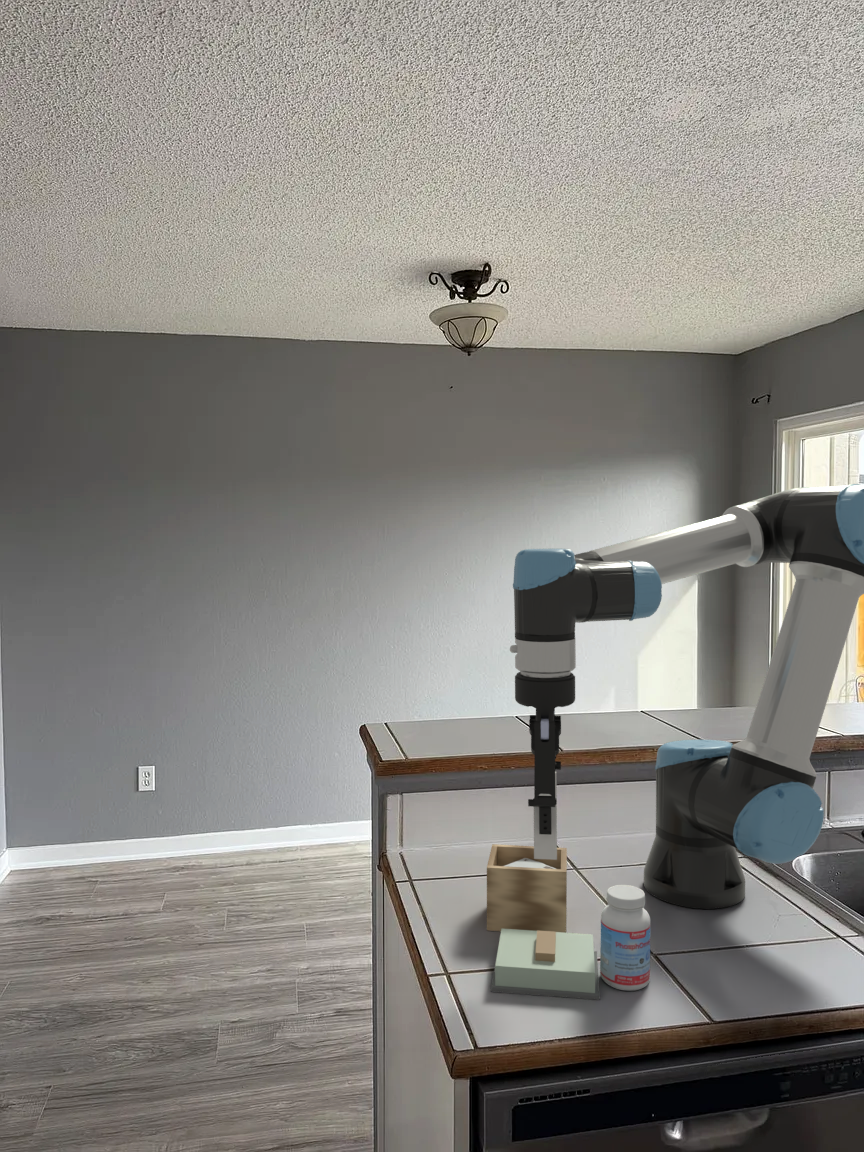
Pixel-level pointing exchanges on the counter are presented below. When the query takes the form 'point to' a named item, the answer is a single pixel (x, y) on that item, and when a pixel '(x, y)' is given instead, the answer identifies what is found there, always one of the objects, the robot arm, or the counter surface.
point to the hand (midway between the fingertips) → (546, 837)
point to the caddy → (526, 891)
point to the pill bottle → (625, 939)
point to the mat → (551, 992)
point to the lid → (545, 960)
